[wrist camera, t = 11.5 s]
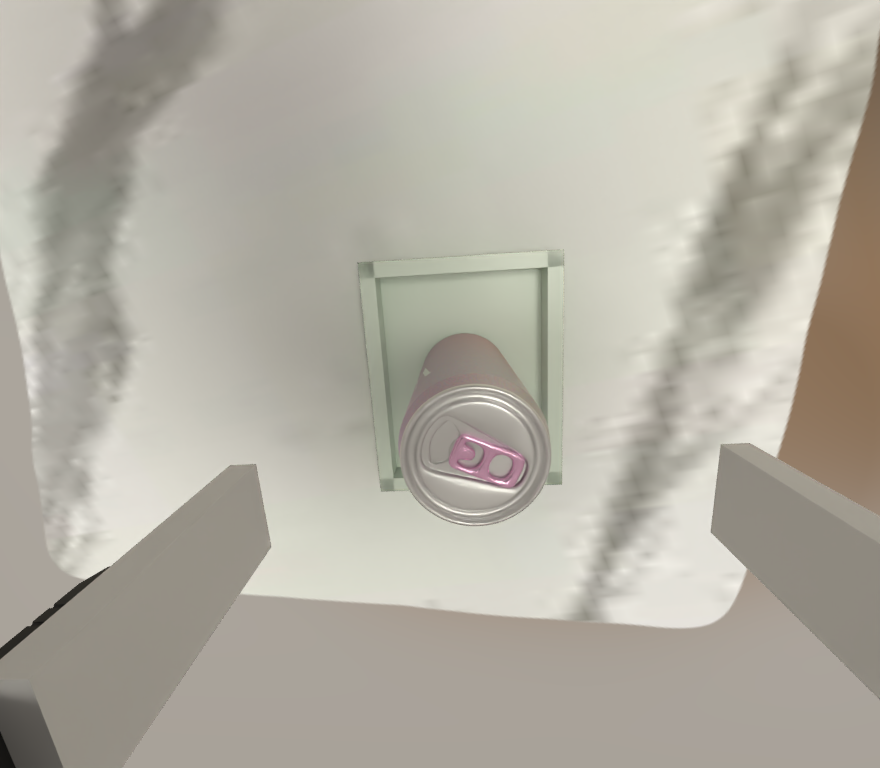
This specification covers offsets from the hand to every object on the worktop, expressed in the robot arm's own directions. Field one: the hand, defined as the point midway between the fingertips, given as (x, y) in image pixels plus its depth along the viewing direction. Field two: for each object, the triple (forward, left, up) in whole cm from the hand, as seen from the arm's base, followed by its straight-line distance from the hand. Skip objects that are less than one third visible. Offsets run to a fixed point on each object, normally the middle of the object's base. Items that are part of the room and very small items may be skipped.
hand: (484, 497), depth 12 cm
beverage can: (0, 0, -19) cm, 19 cm away
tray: (0, 0, -19) cm, 19 cm away
